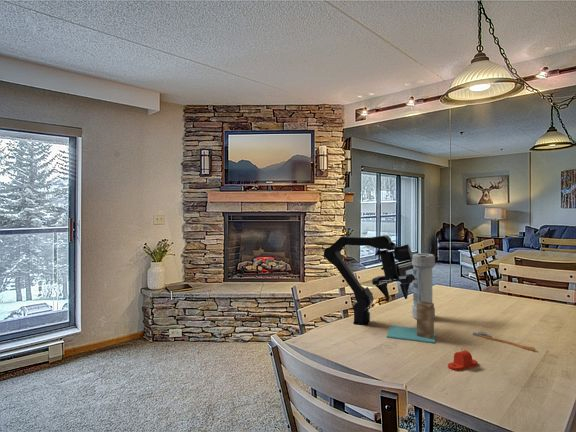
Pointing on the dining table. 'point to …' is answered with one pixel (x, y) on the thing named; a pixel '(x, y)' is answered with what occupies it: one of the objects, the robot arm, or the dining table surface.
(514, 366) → the dining table surface
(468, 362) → the bracket
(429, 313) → the walnut block
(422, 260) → the canister
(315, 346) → the dining table surface
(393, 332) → the mat
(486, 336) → the axe
